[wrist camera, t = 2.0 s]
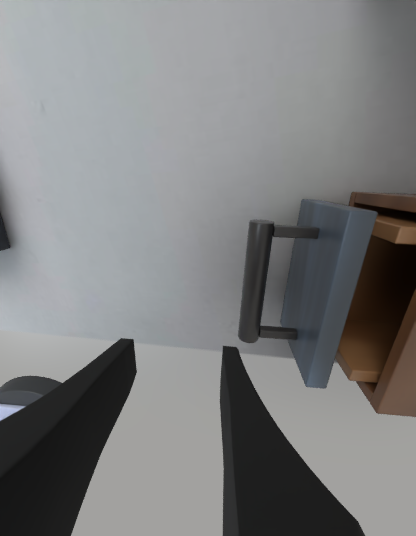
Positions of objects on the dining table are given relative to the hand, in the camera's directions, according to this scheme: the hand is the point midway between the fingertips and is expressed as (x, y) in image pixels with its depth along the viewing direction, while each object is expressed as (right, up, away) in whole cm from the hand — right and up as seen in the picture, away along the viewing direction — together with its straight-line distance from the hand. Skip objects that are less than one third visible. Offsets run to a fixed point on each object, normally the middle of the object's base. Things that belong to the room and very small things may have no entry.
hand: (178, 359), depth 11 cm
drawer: (+11, +4, +7) cm, 14 cm away
